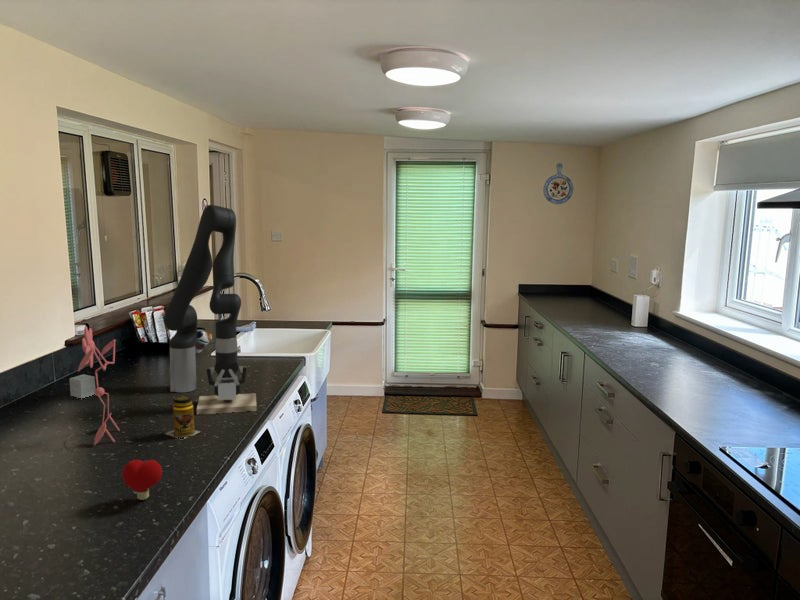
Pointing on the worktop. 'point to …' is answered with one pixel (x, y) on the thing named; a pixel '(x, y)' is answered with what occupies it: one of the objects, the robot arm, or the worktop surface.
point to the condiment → (183, 417)
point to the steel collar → (227, 389)
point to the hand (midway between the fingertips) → (227, 394)
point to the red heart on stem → (141, 476)
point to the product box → (82, 386)
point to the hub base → (226, 404)
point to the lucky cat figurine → (202, 340)
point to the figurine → (89, 350)
